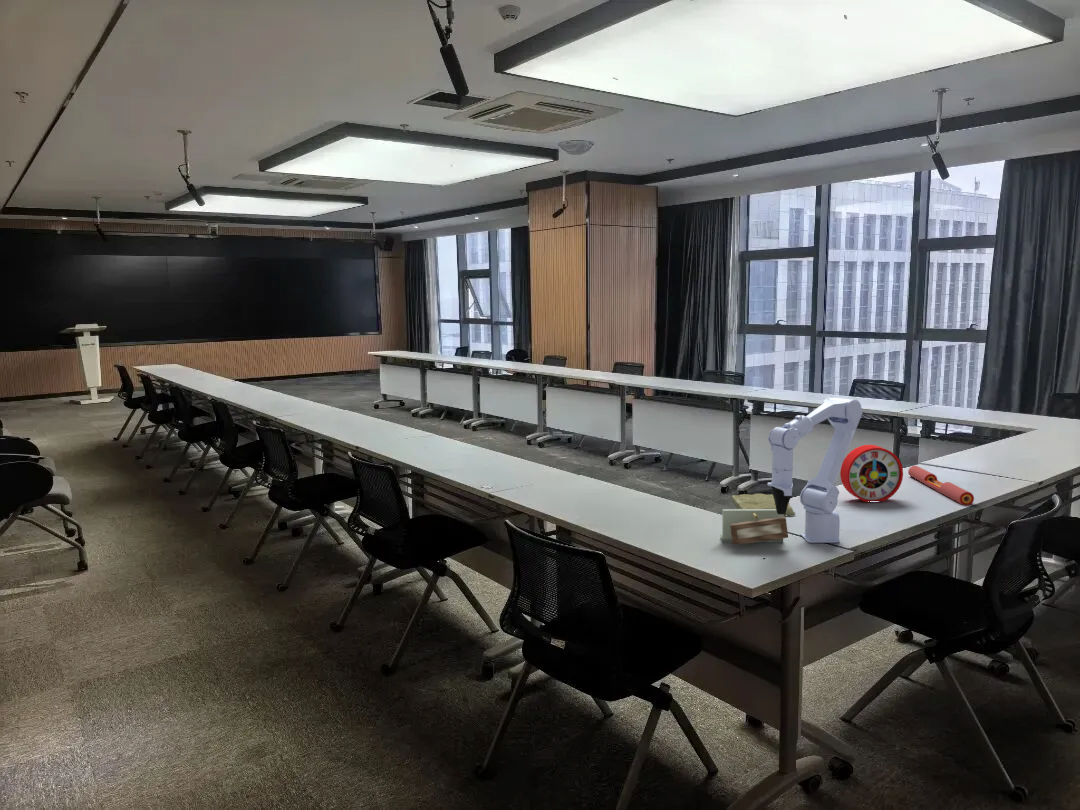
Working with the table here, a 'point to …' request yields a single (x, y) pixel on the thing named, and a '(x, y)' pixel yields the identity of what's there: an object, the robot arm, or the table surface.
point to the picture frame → (759, 530)
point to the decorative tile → (758, 502)
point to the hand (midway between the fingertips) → (781, 513)
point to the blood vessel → (942, 486)
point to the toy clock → (871, 473)
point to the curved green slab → (745, 520)
